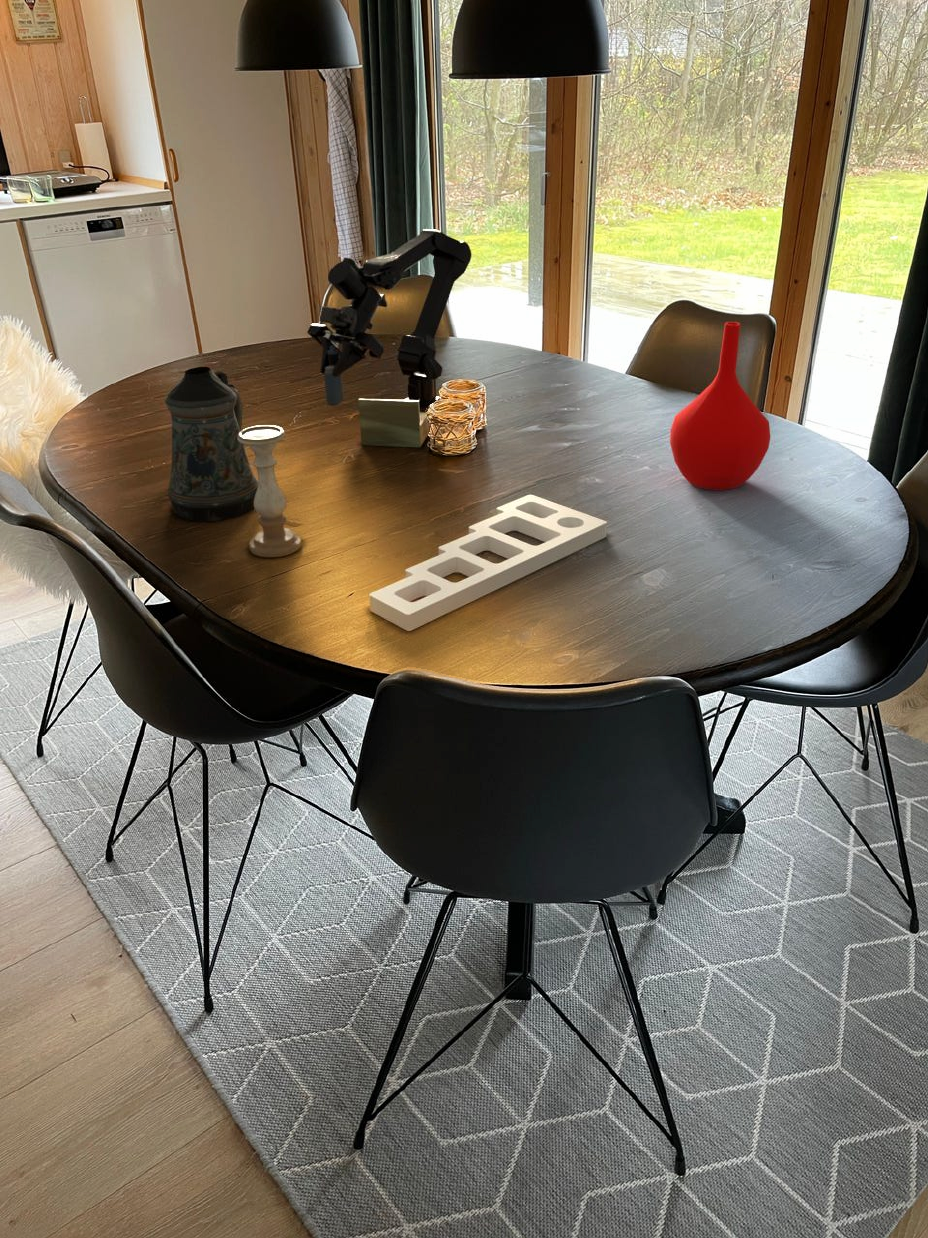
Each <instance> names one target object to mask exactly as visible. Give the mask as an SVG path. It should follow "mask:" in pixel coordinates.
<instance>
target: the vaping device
mask: <svg viewBox="0 0 928 1238" xmlns="http://www.w3.org/2000/svg"><path fill="white" fill-rule="evenodd" d="M327 352H328V361H329V366H327V367H325V372H324V373H325V374H323V378H324V387H325V396H326V402H327V405H328V406H332V407H333V406H334V407H335V406H338V405H339V404H341V402H343V401H344V391H343V381H342V373H341V374H340V375H339V376H337V377H335V376H334V375H333V371H334V369H335V366H336V364H337V362H338V360H339V357H340V356H339V353H338V350H337V349H335V346H330V350H328V351H327Z"/></svg>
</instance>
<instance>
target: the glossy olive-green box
mask: <svg viewBox="0 0 928 1238" xmlns="http://www.w3.org/2000/svg"><path fill="white" fill-rule="evenodd" d="M357 402H358V415H359V428H360V441H361V442H360V443H361V446H376V447H377V446H378V447H401V448H421V447H422V445H423V444H424V442H425V441H426V439H427V437H428V435H430V433H429V426H430V422H429V423H428V419H427V413H428V412H421V411H420V405H419V400H405V399H389V398H388V399H387V398H383V399H382V398H358V399H357Z"/></svg>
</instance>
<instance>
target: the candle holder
mask: <svg viewBox="0 0 928 1238" xmlns="http://www.w3.org/2000/svg"><path fill="white" fill-rule="evenodd" d="M285 437H286V432H285V430H284V429H283V428H282V427H280V426H278V425H271V424H262V425H254V426H250V427H246V428H243V429H241V431H240V432H239V433H238V435H237V439H238V441H239V442H240V443H242V444H244V446H248V447H249V449H250V450H251V451H252V452H253V453H254V455H255V458H254V459H253V462H252V466H253V467H255V468H256V472H257V481H258V488H257V491H256V494H255V497H254V507H253V509H254V511H255V512H256V514H258V515H259V516H258V518H257V523H258V524H259V526H261V527H262V530H260V531H259V532H257V533H256V534H255V535H254V537H253V538H252V539H251V540H250V541H249V543H248V548H249V551H250V552H251V553H252V554H253V555H255V556H257V557H261V558H279V557H285V556H288V555H291V554H294V553H295V552H297V551H299V550H300V548H301V546H302V538H301V536H300V535H298V533H296V532H294V531H293V530H291V529H290V528H286V527H284V526H285V523H286V521H287V519H288V517H287V515H286V514H284V512H285V511H286V509H287V504H288V503H287V498H286V495H285V494H284V492H283V490H282V489H281V488H280V486H279V484H278V481H277V478H276V477H277V476H276V473H275V466H276V465H277V464H278V462H277V460H276V458H275V457H274V456H273V451H274V449H275V448H276V445H277V443H279V442H281V441H282V440H284V439H285Z"/></svg>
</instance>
